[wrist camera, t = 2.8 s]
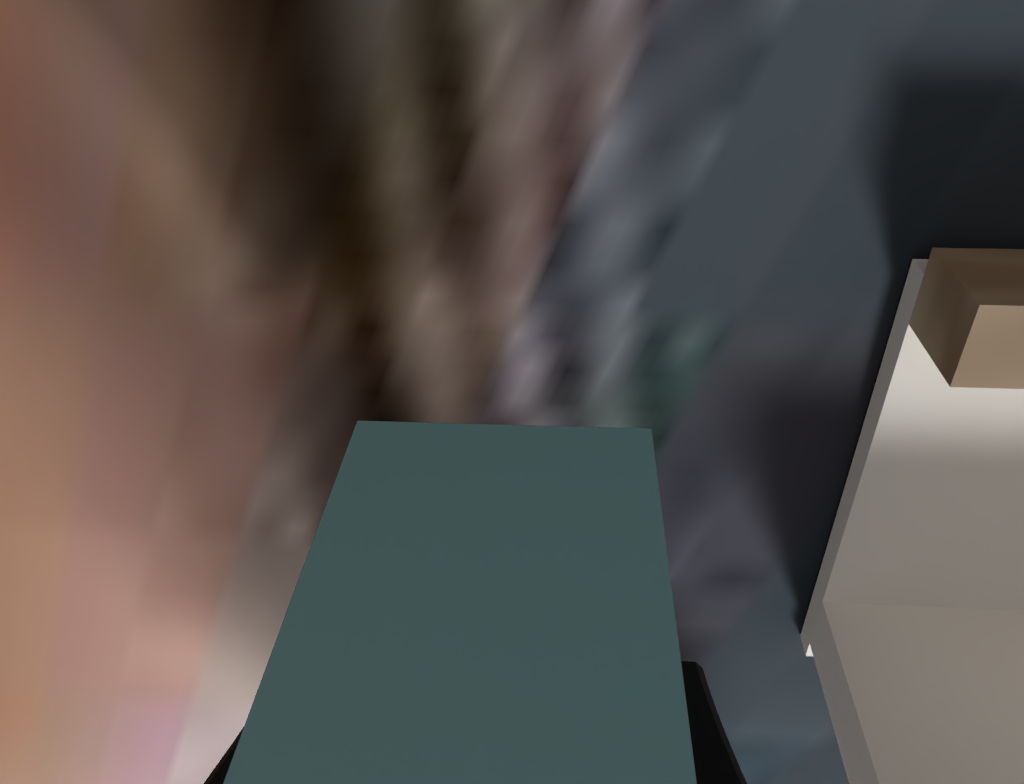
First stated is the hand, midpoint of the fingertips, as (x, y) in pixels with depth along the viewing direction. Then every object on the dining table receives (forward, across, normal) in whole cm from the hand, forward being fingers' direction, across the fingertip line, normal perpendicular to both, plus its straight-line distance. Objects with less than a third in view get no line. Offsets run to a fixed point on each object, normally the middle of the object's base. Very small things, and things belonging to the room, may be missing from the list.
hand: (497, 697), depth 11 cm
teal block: (+2, 0, 0) cm, 2 cm away
